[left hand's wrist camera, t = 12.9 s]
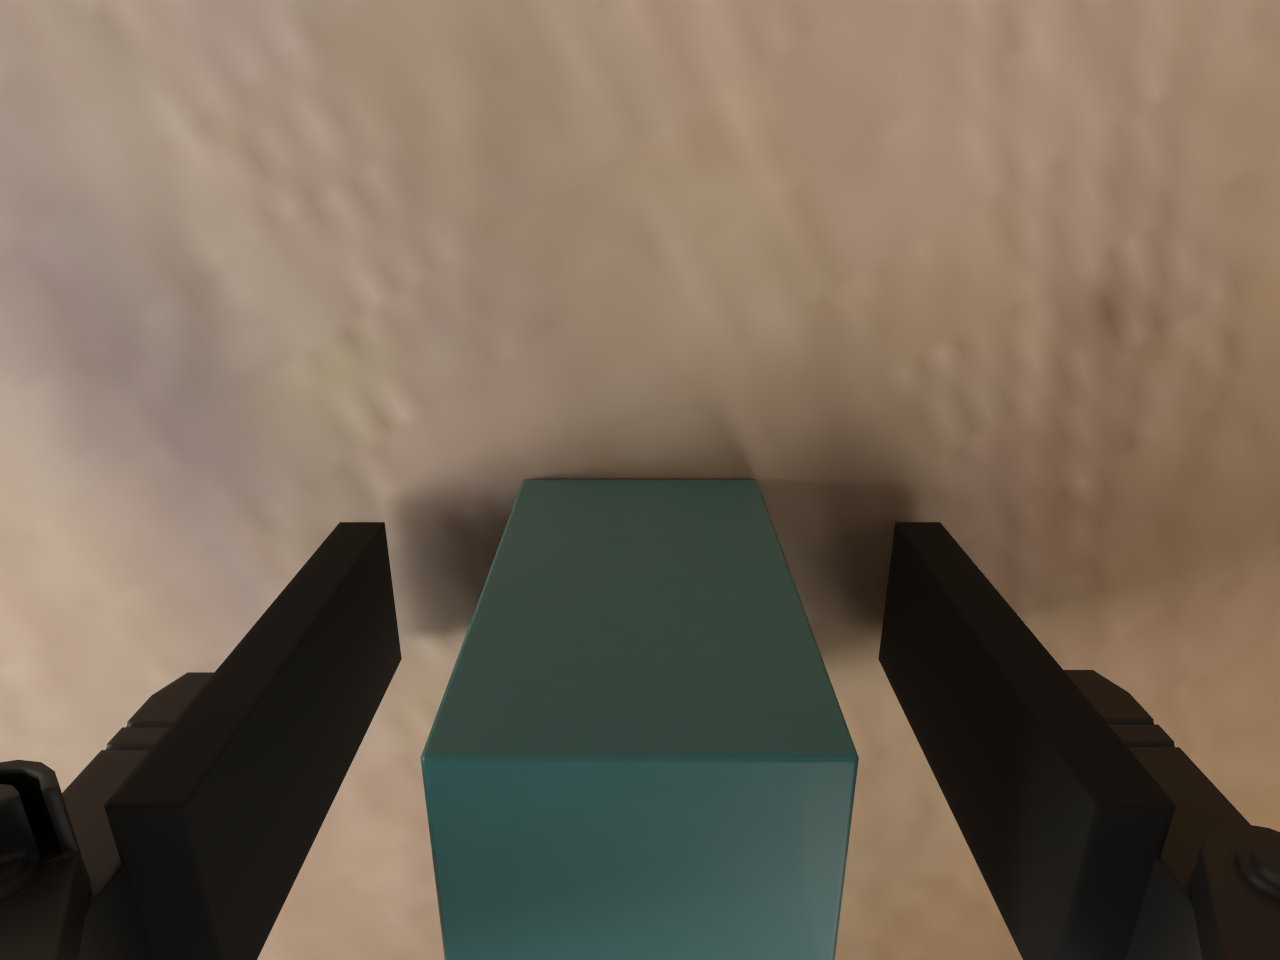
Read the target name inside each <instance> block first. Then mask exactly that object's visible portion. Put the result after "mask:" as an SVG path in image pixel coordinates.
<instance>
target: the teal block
mask: <svg viewBox="0 0 1280 960" xmlns="http://www.w3.org/2000/svg"><path fill="white" fill-rule="evenodd" d="M858 759H859V758H858V755H857V752H856V749H855V747H854V744H853V741H852V739H851V736H850V733H849V730H848V728H847V725H846V722H845V720H844V717H843V714H842V711H841V709H840V706H839V703H838V700H837V698H836V695H835V692H834V690H833V687H832V684H831V681H830V679H829V676H828V673H827V671H826V668H825V665H824V662H823V660H822V657H821V654H820V652H819V649H818V646H817V643H816V641H815V638H814V635H813V633H812V630H811V627H810V624H809V622H808V619H807V616H806V614H805V611H804V608H803V605H802V603H801V600H800V597H799V594H798V592H797V589H796V586H795V584H794V581H793V578H792V575H791V573H790V570H789V567H788V565H787V562H786V559H785V556H784V554H783V551H782V548H781V546H780V543H779V540H778V537H777V535H776V532H775V529H774V527H773V524H772V521H771V518H770V516H769V513H768V510H767V508H766V505H765V502H764V499H763V497H762V494H761V491H760V488H759V486H758V483H757V481H756V480H754V479H546V480H523V482H522V484H521V487H520V490H519V492H518V495H517V498H516V501H515V503H514V506H513V509H512V511H511V514H510V517H509V520H508V522H507V525H506V528H505V530H504V533H503V536H502V539H501V541H500V544H499V547H498V549H497V552H496V555H495V558H494V560H493V563H492V566H491V568H490V571H489V574H488V577H487V579H486V582H485V585H484V587H483V590H482V593H481V596H480V598H479V601H478V604H477V607H476V609H475V612H474V615H473V617H472V620H471V623H470V626H469V628H468V631H467V634H466V636H465V639H464V642H463V645H462V647H461V650H460V653H459V655H458V658H457V661H456V664H455V666H454V669H453V672H452V674H451V677H450V680H449V683H448V685H447V688H446V691H445V693H444V696H443V699H442V702H441V704H440V707H439V710H438V712H437V715H436V718H435V721H434V723H433V726H432V729H431V731H430V734H429V737H428V740H427V742H426V745H425V748H424V750H423V753H422V756H421V765H422V773H423V781H424V789H425V798H426V806H427V814H428V823H429V831H430V839H431V848H432V856H433V864H434V873H435V881H436V889H437V898H438V906H439V914H440V923H441V931H442V939H443V947H444V956H445V960H834V959H835V951H836V943H837V934H838V926H839V918H840V909H841V901H842V893H843V884H844V876H845V868H846V859H847V851H848V843H849V834H850V826H851V818H852V809H853V801H854V792H855V784H856V776H857V767H858Z"/></svg>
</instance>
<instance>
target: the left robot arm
mask: <svg viewBox="0 0 1280 960" xmlns="http://www.w3.org/2000/svg"><path fill="white" fill-rule="evenodd" d="M400 661H401V652H400V644H399V636H398V628H397V619H396V611H395V603H394V595H393V587H392V579H391V571H390V563H389V555H388V547H387V539H386V531H385V523H384V522H340V523H339V524H338V525H337V527H336V528H335V529H334V530H333V531H332V533H331V534H330V535H329V536H328V537H327V539H326V540H325V541H324V542H323V543H322V545H321V546H320V547H319V548H318V549H317V551H316V552H315V553H314V554H313V555H312V557H311V558H310V559H309V560H308V561H307V563H306V564H305V565H304V566H303V567H302V569H301V570H300V571H299V572H298V573H297V574H296V576H295V577H294V578H293V579H292V580H291V582H290V583H289V584H288V585H287V586H286V588H285V589H284V590H283V591H282V592H281V594H280V595H279V596H278V597H277V598H276V600H275V601H274V602H273V603H272V604H271V606H270V607H269V608H268V609H267V610H266V612H265V613H264V614H263V615H262V616H261V618H260V619H259V620H258V621H257V622H256V624H255V625H254V626H253V627H252V628H251V630H250V631H249V632H248V633H247V634H246V636H245V637H244V638H243V639H242V640H241V642H240V643H239V644H238V645H237V646H236V648H235V649H234V650H233V651H232V652H231V654H230V655H229V656H228V657H227V658H226V660H225V661H224V662H223V663H222V664H221V666H220V667H219V668H218V669H217V670H216V672H215V673H186V674H185V675H183V676H182V677H180V678H179V679H177V680H175V681H174V682H172V683H171V684H169V685H168V686H166V687H164V688H163V689H161V690H160V691H158V692H156V693H155V694H153V695H152V696H151V697H150V698H149V699H148V700H147V701H146V702H145V703H144V705H143V706H142V707H141V708H140V709H139V710H138V711H137V712H136V713H135V714H134V715H133V717H132V718H131V719H130V720H129V721H128V722H127V727H126V728H122V729H121V730H120V731H119V732H118V733H117V734H116V735H115V736H114V737H113V738H112V739H111V741H110V742H109V743H108V744H107V749H106V750H101V751H100V753H99V754H98V755H97V756H96V757H95V758H94V759H93V760H92V761H91V762H90V763H89V765H88V766H87V767H86V768H85V769H84V770H83V771H82V772H81V773H80V774H79V775H78V777H77V778H76V779H75V780H74V781H73V782H72V783H71V784H70V785H69V786H68V787H67V789H66V790H65V791H64V792H63V793H61V790H60V786H59V783H58V780H57V777H56V774H55V771H53V770H52V769H50V768H49V767H47V766H46V765H44V764H43V763H41V762H33V761H23V760H14V761H8V762H1V763H0V960H257V958H258V956H259V954H260V952H261V950H262V948H263V946H264V944H265V942H266V940H267V938H268V935H269V933H270V931H271V929H272V927H273V925H274V923H275V921H276V919H277V917H278V915H279V913H280V910H281V908H282V906H283V904H284V902H285V900H286V898H287V896H288V894H289V892H290V890H291V888H292V886H293V883H294V881H295V879H296V877H297V875H298V873H299V871H300V869H301V867H302V865H303V863H304V861H305V858H306V856H307V854H308V852H309V850H310V848H311V846H312V844H313V842H314V840H315V838H316V836H317V834H318V831H319V829H320V827H321V825H322V823H323V821H324V819H325V817H326V815H327V813H328V811H329V809H330V806H331V804H332V802H333V800H334V798H335V796H336V794H337V792H338V790H339V788H340V786H341V784H342V782H343V779H344V777H345V775H346V773H347V771H348V769H349V767H350V765H351V763H352V761H353V759H354V757H355V754H356V752H357V750H358V748H359V746H360V744H361V742H362V740H363V738H364V736H365V734H366V732H367V730H368V727H369V725H370V723H371V721H372V719H373V717H374V715H375V713H376V711H377V709H378V707H379V705H380V702H381V700H382V698H383V696H384V694H385V692H386V690H387V688H388V686H389V684H390V682H391V680H392V678H393V675H394V673H395V671H396V669H397V667H398V665H399V663H400ZM879 661H880V663H881V665H882V667H883V669H884V671H885V673H886V675H887V678H888V680H889V682H890V684H891V686H892V688H893V690H894V692H895V694H896V696H897V698H898V700H899V703H900V705H901V707H902V709H903V711H904V713H905V715H906V717H907V719H908V721H909V723H910V725H911V727H912V730H913V732H914V734H915V736H916V738H917V740H918V742H919V744H920V746H921V748H922V750H923V752H924V755H925V757H926V759H927V761H928V763H929V765H930V767H931V769H932V771H933V773H934V775H935V777H936V779H937V782H938V784H939V786H940V788H941V790H942V792H943V794H944V796H945V798H946V800H947V802H948V804H949V807H950V809H951V811H952V813H953V815H954V817H955V819H956V821H957V823H958V825H959V827H960V829H961V831H962V834H963V836H964V838H965V840H966V842H967V844H968V846H969V848H970V850H971V852H972V854H973V856H974V859H975V861H976V863H977V865H978V867H979V869H980V871H981V873H982V875H983V877H984V879H985V881H986V883H987V886H988V888H989V890H990V892H991V894H992V896H993V898H994V900H995V902H996V904H997V906H998V908H999V911H1000V913H1001V915H1002V917H1003V919H1004V921H1005V923H1006V925H1007V927H1008V929H1009V931H1010V933H1011V935H1012V938H1013V940H1014V942H1015V944H1016V946H1017V948H1018V950H1019V952H1020V954H1021V956H1022V958H1023V960H1280V832H1278V831H1275V830H1272V829H1270V828H1265V827H1259V826H1253V825H1250V824H1249V823H1248V821H1247V820H1246V819H1245V818H1244V817H1243V816H1242V815H1241V814H1240V813H1239V812H1238V811H1237V810H1236V808H1235V807H1234V806H1233V805H1232V804H1231V803H1230V802H1229V801H1228V800H1227V799H1226V798H1225V797H1224V795H1223V794H1222V793H1221V792H1220V791H1219V790H1218V789H1217V788H1216V787H1215V786H1214V785H1213V784H1212V782H1211V781H1210V780H1209V779H1208V778H1207V777H1206V776H1205V775H1204V774H1203V773H1202V772H1201V771H1200V769H1199V768H1198V767H1197V766H1196V765H1195V764H1194V763H1193V762H1192V761H1191V760H1190V759H1189V757H1188V756H1187V755H1186V754H1185V753H1184V752H1183V751H1182V750H1181V749H1180V748H1179V747H1175V746H1174V741H1173V740H1172V739H1171V738H1170V737H1169V736H1168V735H1167V734H1166V733H1165V731H1164V730H1163V729H1162V728H1161V727H1160V726H1159V725H1154V722H1153V718H1152V717H1151V716H1150V715H1149V714H1148V713H1147V712H1146V711H1145V710H1144V709H1143V708H1142V707H1141V705H1140V704H1139V703H1138V702H1137V701H1136V700H1135V699H1134V698H1133V697H1132V696H1131V695H1130V694H1129V693H1128V692H1127V691H1125V690H1124V689H1122V688H1120V687H1119V686H1117V685H1116V684H1114V683H1112V682H1111V681H1109V680H1108V679H1106V678H1105V677H1103V676H1101V675H1100V674H1098V673H1097V672H1095V671H1093V670H1063V669H1062V668H1061V667H1060V666H1059V664H1058V663H1057V662H1056V661H1055V660H1054V658H1053V657H1052V656H1051V655H1050V654H1049V652H1048V651H1047V650H1046V649H1045V648H1044V646H1043V645H1042V644H1041V643H1040V642H1039V640H1038V639H1037V638H1036V637H1035V636H1034V634H1033V633H1032V632H1031V631H1030V630H1029V628H1028V627H1027V626H1026V625H1025V624H1024V622H1023V621H1022V620H1021V619H1020V618H1019V616H1018V615H1017V614H1016V613H1015V612H1014V610H1013V609H1012V608H1011V607H1010V606H1009V604H1008V603H1007V602H1006V601H1005V600H1004V598H1003V597H1002V596H1001V595H1000V594H999V592H998V591H997V590H996V589H995V588H994V587H993V585H992V584H991V583H990V582H989V581H988V579H987V578H986V577H985V576H984V575H983V573H982V572H981V571H980V570H979V569H978V567H977V566H976V565H975V564H974V563H973V561H972V560H971V559H970V558H969V557H968V555H967V554H966V553H965V552H964V551H963V549H962V548H961V547H960V546H959V545H958V543H957V542H956V541H955V540H954V539H953V537H952V536H951V535H950V534H949V533H948V531H947V530H946V529H945V528H944V527H943V525H942V524H941V523H940V522H896V523H895V531H894V539H893V547H892V555H891V563H890V571H889V579H888V587H887V595H886V603H885V611H884V619H883V627H882V635H881V644H880V652H879Z"/></svg>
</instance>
